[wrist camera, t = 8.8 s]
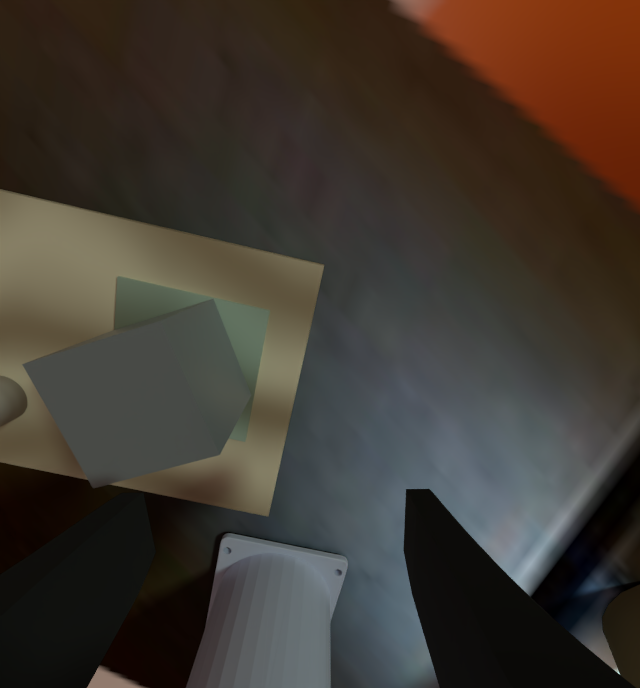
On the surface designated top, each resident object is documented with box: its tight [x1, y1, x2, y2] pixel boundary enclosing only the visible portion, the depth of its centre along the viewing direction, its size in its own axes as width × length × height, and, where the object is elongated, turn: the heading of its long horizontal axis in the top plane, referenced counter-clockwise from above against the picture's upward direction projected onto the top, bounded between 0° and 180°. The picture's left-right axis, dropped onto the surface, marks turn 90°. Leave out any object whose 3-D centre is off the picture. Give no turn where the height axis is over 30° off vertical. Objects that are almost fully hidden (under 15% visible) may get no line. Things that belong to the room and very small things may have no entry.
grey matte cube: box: [22, 299, 251, 488], centre depth 14 cm, size 5×5×5 cm
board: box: [0, 189, 324, 516], centre depth 15 cm, size 14×18×6 cm
